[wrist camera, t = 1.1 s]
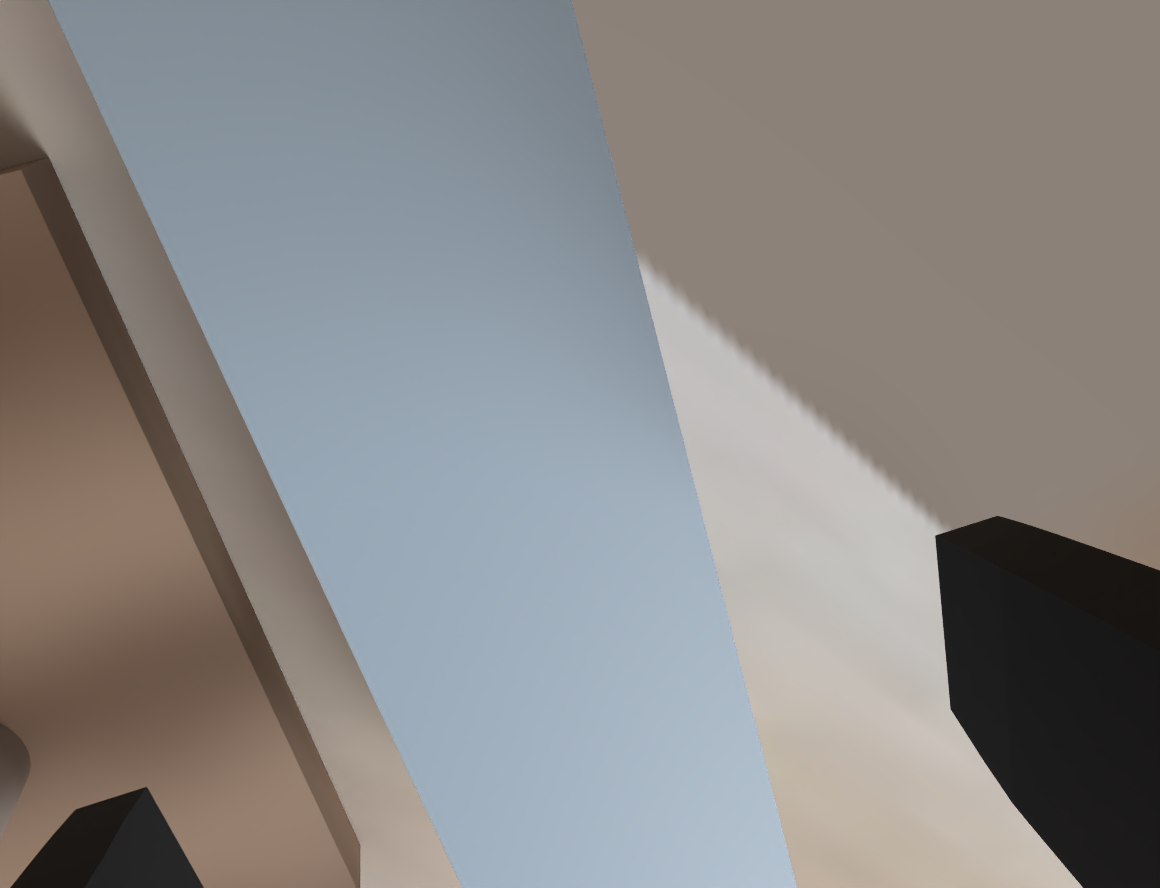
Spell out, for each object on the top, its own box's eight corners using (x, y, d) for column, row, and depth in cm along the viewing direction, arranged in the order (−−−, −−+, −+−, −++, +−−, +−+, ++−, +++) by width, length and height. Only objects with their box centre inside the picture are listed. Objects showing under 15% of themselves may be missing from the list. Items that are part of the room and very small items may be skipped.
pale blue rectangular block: (694, 701, 19) (809, 936, 14) (489, 775, 19) (533, 1041, 14) (470, -86, 13) (533, -149, 8) (167, 5, 13) (46, -4, 8)
